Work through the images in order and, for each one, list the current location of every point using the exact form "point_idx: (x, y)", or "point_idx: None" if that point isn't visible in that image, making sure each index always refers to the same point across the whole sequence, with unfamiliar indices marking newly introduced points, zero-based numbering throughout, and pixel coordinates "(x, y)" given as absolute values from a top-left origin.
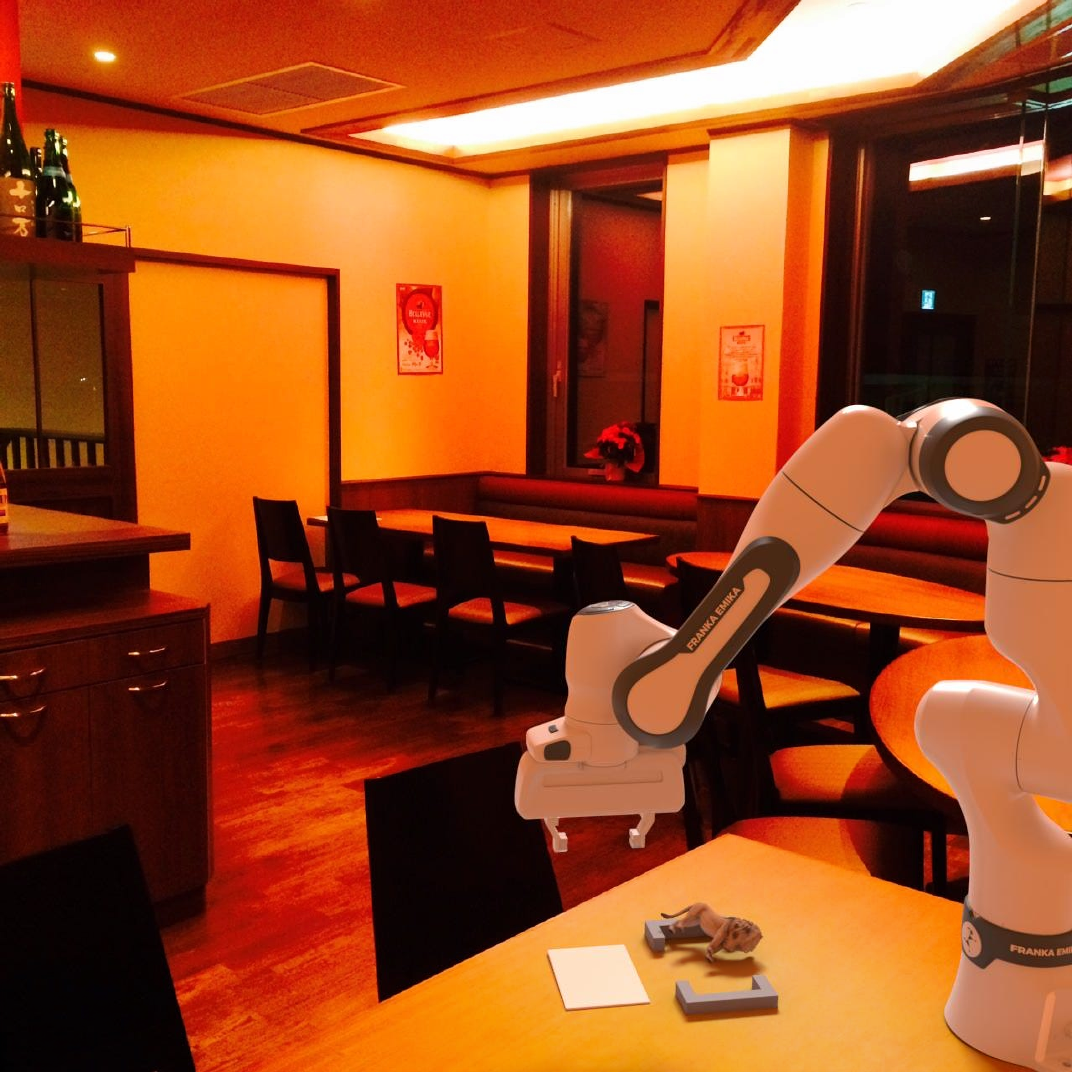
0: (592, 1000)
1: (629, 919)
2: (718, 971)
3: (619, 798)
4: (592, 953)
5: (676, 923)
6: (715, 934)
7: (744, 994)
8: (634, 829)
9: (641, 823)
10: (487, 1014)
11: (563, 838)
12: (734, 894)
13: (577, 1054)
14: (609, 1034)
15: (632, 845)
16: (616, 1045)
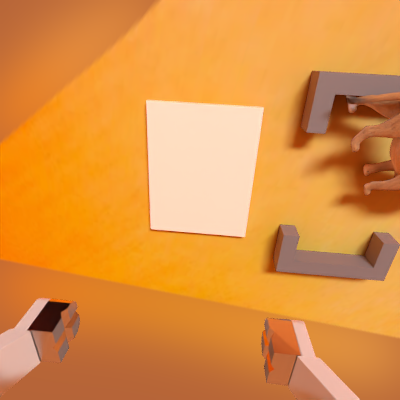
0: (182, 222)
1: (312, 4)
2: (362, 187)
3: None
4: (209, 124)
5: (365, 103)
6: (397, 171)
7: (347, 271)
8: (289, 356)
9: (315, 394)
10: (69, 210)
11: (48, 361)
12: None
13: (152, 279)
14: (188, 262)
15: (262, 346)
16: (190, 276)
